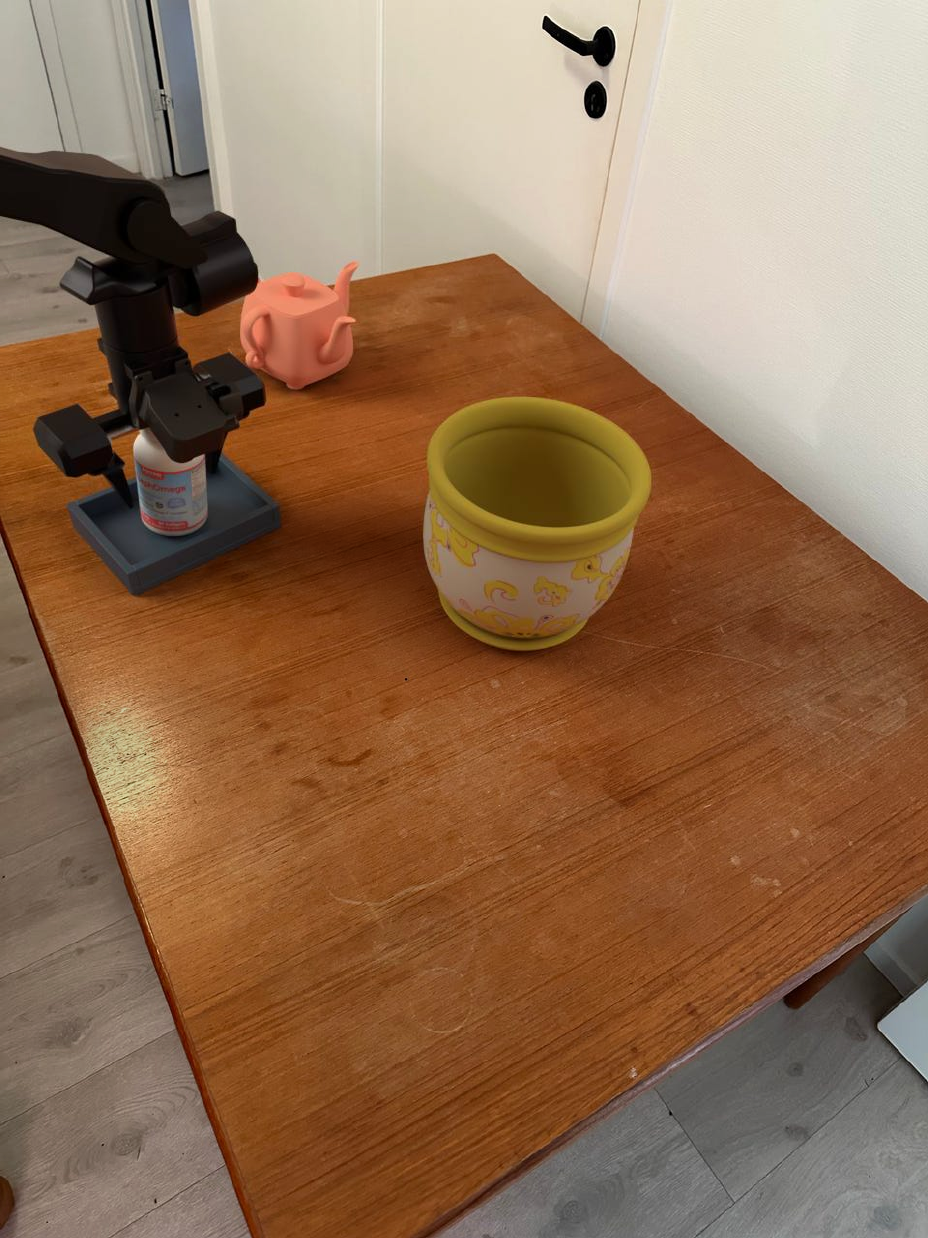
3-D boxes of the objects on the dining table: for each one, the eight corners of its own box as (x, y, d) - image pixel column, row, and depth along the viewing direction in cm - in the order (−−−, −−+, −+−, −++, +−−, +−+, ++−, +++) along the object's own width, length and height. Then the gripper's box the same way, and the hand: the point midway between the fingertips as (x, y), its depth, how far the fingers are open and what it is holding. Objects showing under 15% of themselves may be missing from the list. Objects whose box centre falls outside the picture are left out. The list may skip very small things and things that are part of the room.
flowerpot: (418, 531, 86) (427, 388, 74) (596, 540, 88) (633, 401, 76) (415, 672, 74) (426, 528, 62) (622, 680, 75) (672, 541, 63)
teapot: (243, 333, 108) (234, 246, 100) (358, 339, 110) (359, 254, 102) (229, 398, 98) (218, 307, 90) (355, 404, 100) (355, 315, 92)
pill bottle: (129, 528, 81) (114, 424, 73) (161, 492, 85) (150, 391, 77) (191, 545, 80) (182, 443, 73) (219, 508, 85) (214, 408, 77)
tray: (133, 596, 77) (127, 574, 75) (73, 526, 82) (65, 504, 80) (281, 527, 85) (279, 505, 83) (217, 467, 90) (214, 445, 88)
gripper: (74, 422, 60) (119, 581, 72) (297, 344, 70) (306, 495, 81) (5, 351, 65) (57, 510, 77) (221, 287, 75) (240, 437, 86)
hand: (171, 488), depth 80 cm, fingers open, 8 cm apart
